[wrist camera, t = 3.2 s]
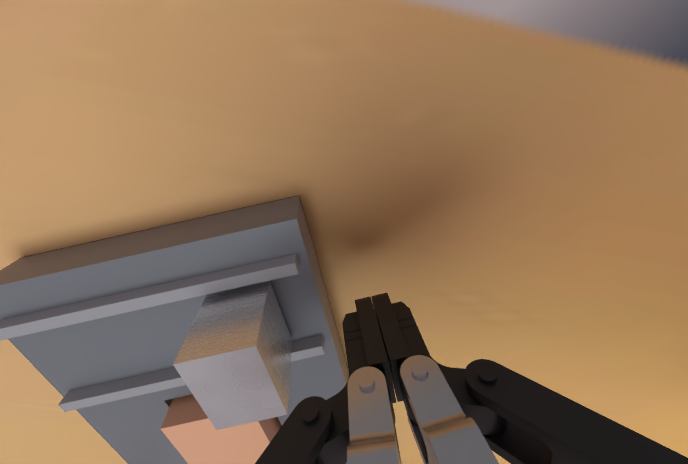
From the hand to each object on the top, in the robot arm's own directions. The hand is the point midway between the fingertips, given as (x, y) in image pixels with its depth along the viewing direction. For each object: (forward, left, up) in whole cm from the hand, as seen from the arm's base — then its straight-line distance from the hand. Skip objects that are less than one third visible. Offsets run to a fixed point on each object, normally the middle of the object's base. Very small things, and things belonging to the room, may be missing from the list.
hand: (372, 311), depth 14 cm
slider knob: (+6, 0, -2) cm, 6 cm away
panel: (+10, +8, -5) cm, 13 cm away
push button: (+10, +8, -3) cm, 13 cm away
